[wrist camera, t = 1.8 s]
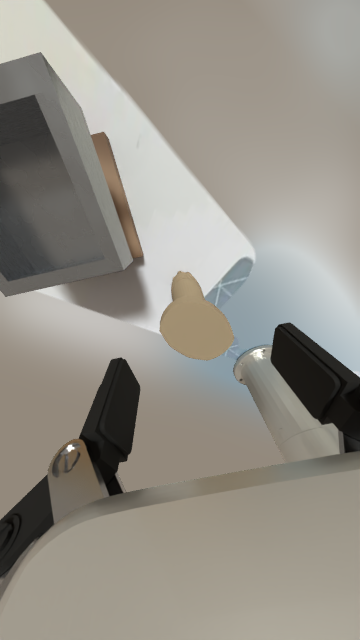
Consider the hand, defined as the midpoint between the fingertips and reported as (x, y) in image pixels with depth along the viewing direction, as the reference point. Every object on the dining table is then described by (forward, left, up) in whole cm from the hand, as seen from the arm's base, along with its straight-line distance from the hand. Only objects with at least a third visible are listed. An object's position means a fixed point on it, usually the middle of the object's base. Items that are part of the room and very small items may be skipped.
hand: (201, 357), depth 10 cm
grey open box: (+11, +11, -12) cm, 19 cm away
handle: (0, 0, -18) cm, 18 cm away
